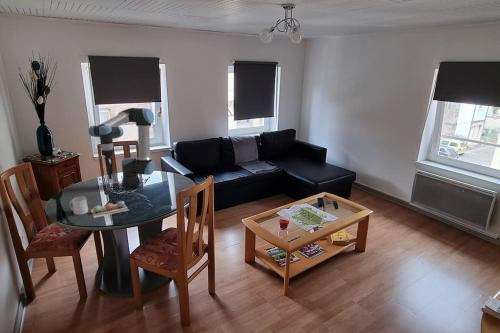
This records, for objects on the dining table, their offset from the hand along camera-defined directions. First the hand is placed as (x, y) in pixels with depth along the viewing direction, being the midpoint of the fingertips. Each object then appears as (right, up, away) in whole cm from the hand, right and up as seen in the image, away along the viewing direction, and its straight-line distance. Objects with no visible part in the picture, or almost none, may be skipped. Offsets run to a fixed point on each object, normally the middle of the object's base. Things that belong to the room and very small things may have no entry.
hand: (110, 182), depth 212 cm
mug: (-20, -21, -2) cm, 29 cm away
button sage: (-7, -20, -3) cm, 21 cm away
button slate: (+5, -18, +5) cm, 19 cm away
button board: (-1, -20, +1) cm, 20 cm away
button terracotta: (-1, -19, +1) cm, 19 cm away
